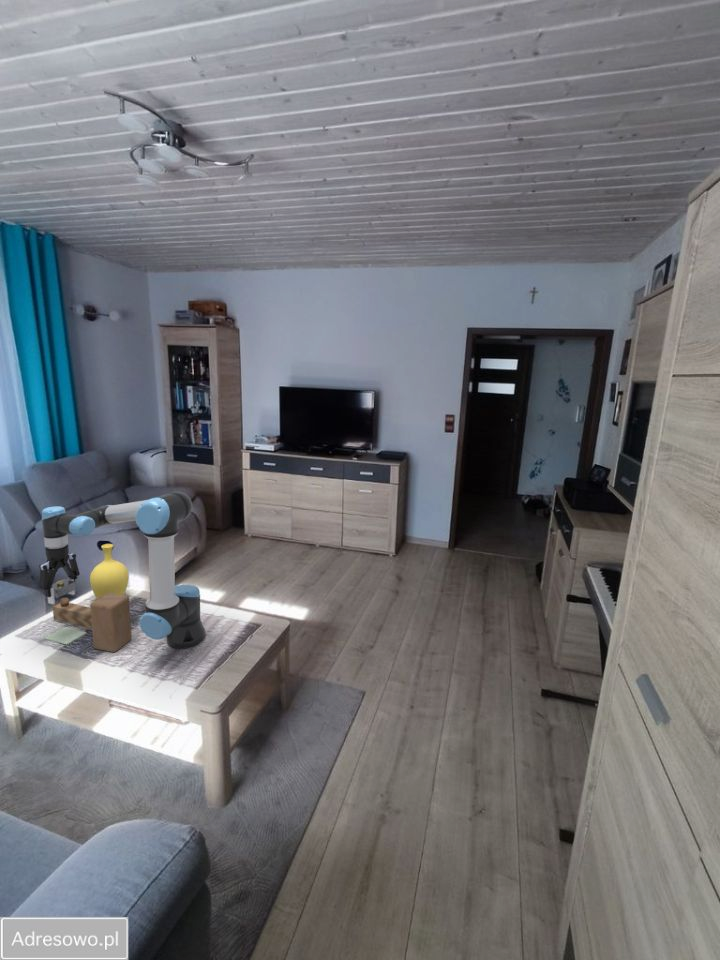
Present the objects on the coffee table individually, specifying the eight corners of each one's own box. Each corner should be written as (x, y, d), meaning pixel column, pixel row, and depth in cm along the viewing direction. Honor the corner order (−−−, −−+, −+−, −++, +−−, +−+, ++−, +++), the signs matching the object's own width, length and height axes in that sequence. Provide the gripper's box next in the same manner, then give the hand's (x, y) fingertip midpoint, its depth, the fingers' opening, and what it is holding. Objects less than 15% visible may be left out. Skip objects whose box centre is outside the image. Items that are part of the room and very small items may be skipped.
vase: (83, 605, 202) (78, 549, 196) (108, 590, 217) (104, 538, 211) (114, 610, 199) (110, 553, 194) (137, 594, 215) (134, 541, 209)
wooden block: (114, 653, 168) (111, 607, 164) (92, 649, 170) (88, 603, 166) (132, 639, 178) (129, 595, 174) (111, 635, 180) (108, 591, 175)
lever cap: (76, 589, 176) (75, 578, 175) (57, 597, 169) (56, 586, 168) (64, 586, 178) (63, 576, 177) (46, 595, 170) (44, 584, 170)
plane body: (111, 626, 186) (109, 599, 183) (100, 633, 181) (98, 604, 178) (64, 615, 193) (62, 588, 190) (53, 621, 188) (50, 593, 185)
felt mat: (86, 633, 180) (86, 632, 180) (66, 645, 172) (66, 644, 171) (64, 627, 183) (64, 626, 183) (43, 639, 175) (43, 637, 175)
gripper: (73, 536, 180) (78, 586, 185) (22, 553, 160) (29, 608, 165) (87, 538, 178) (91, 589, 183) (37, 556, 158) (43, 612, 163)
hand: (61, 598), depth 174 cm, fingers closed on lever cap, 8 cm apart
